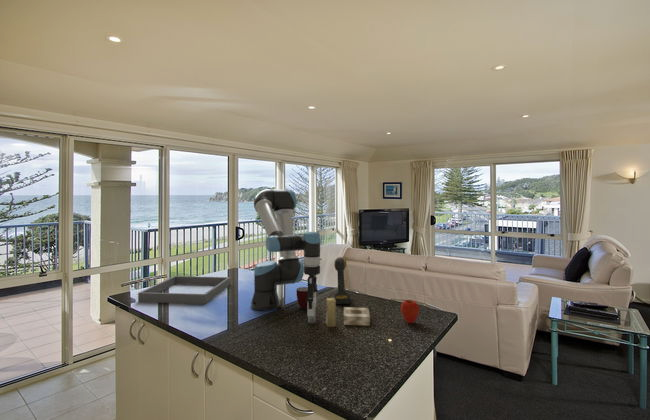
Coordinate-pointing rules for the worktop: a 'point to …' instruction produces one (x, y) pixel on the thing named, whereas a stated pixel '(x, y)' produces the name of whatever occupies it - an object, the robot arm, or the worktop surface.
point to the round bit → (312, 318)
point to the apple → (409, 310)
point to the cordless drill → (341, 282)
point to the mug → (302, 297)
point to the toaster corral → (155, 296)
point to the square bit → (330, 312)
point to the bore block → (356, 316)
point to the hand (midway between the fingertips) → (312, 310)
